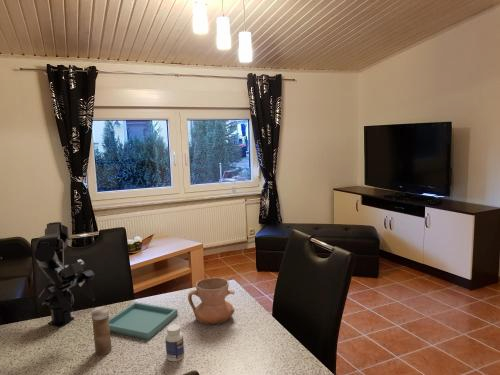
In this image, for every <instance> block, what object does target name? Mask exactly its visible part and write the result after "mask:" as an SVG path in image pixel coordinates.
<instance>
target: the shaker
mask: <svg viewBox="0 0 500 375" xmlns="http://www.w3.org/2000/svg"><path fill="white" fill-rule="evenodd" d="M90 313H91V314H90V315H91V320H92V321H91V322H92V329H93V330H92V332H93V339H94V350H95V355H96V356H98V357H99V356H106V355H109V354H110V353H111V352H112V351H113V350H112V341H111V340H112V339H111V332H110V327H109V319H110V317H109V316H110V315H109V308H108V306H107V307H106V306H98V307H96V308H93V309H92V310H91V312H90Z"/></svg>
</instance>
